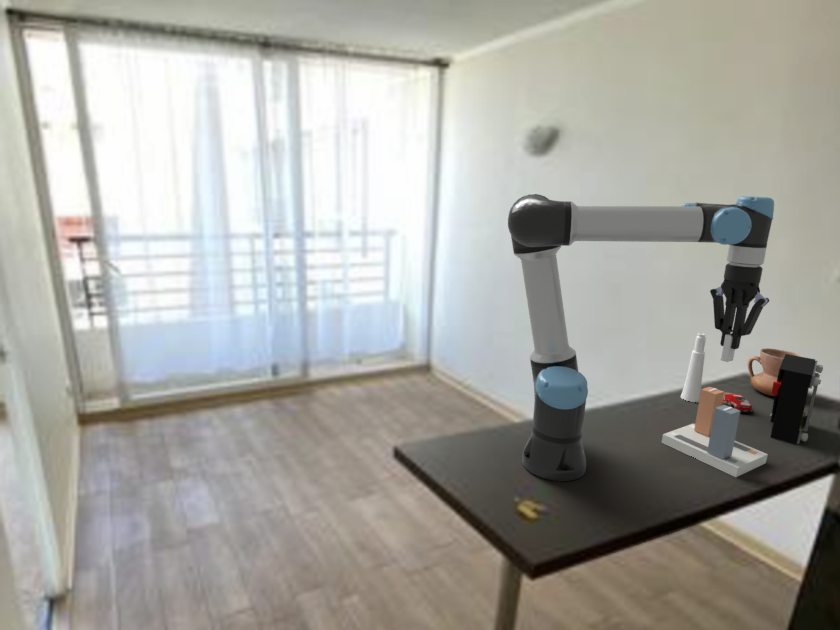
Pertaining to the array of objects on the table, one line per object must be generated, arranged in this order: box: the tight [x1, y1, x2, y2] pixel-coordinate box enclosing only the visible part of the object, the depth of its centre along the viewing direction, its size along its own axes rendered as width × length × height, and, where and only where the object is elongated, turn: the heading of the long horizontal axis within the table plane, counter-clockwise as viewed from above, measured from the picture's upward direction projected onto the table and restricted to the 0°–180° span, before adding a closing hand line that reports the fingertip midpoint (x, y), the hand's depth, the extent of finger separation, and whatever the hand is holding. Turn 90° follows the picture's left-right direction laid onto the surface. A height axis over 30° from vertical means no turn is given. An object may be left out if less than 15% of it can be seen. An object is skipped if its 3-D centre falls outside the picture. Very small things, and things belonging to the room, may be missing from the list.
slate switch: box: [707, 404, 741, 459], centre depth 138 cm, size 4×4×12 cm
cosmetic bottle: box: [680, 332, 707, 403], centre depth 178 cm, size 6×6×22 cm
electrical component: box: [769, 354, 824, 445], centre depth 158 cm, size 18×10×20 cm, turn 143°
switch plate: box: [661, 422, 768, 478], centre depth 145 cm, size 20×14×3 cm
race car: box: [722, 391, 753, 413], centre depth 177 cm, size 13×5×4 cm, turn 178°
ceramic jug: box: [747, 347, 804, 397], centre depth 188 cm, size 18×14×14 cm
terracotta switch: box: [694, 386, 725, 436], centre depth 150 cm, size 4×4×12 cm
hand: (726, 360), depth 136 cm, fingers closed
